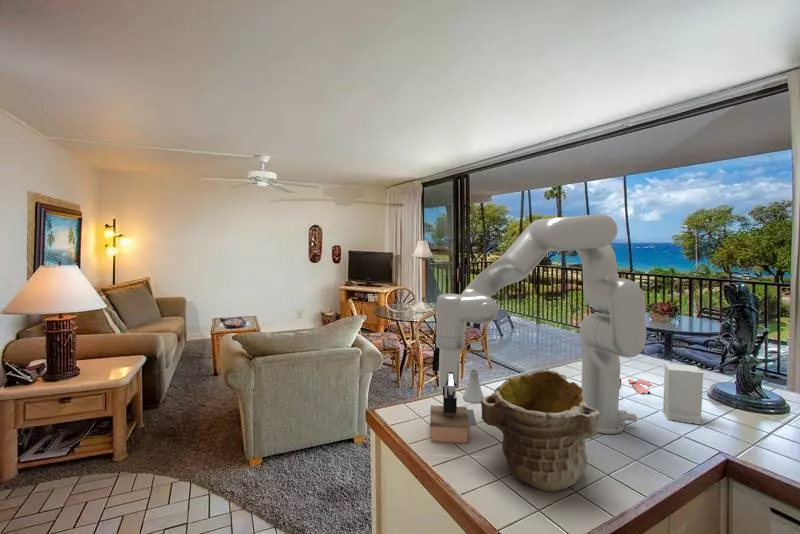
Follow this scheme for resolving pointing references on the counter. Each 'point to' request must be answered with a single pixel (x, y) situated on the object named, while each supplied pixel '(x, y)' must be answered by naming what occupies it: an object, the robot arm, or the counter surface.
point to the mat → (471, 418)
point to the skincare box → (683, 393)
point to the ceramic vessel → (542, 428)
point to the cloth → (638, 387)
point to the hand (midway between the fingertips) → (449, 404)
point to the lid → (449, 417)
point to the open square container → (449, 434)
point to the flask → (473, 388)
